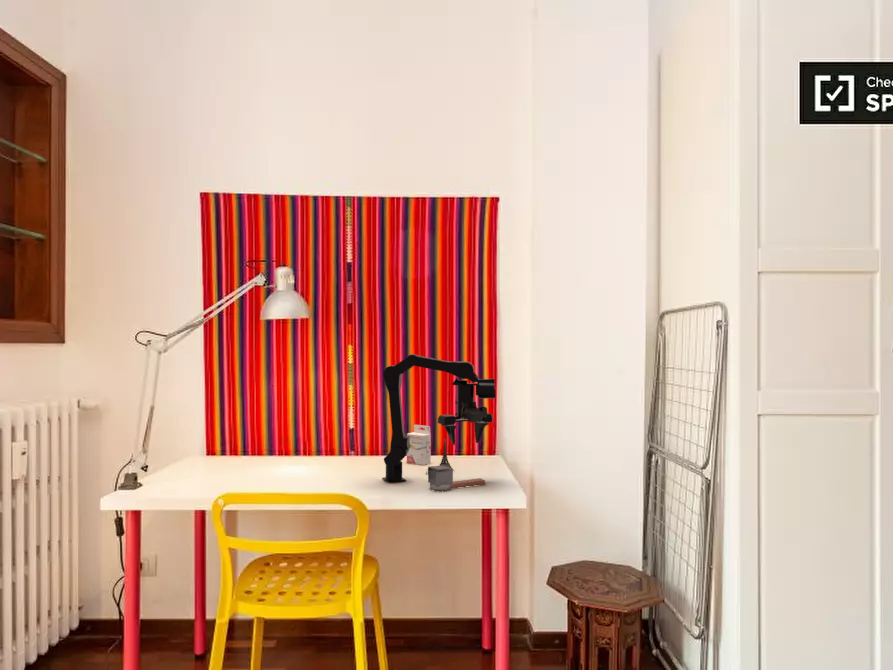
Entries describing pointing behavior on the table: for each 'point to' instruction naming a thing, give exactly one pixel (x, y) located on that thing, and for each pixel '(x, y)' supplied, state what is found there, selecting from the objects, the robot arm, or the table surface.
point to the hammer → (457, 484)
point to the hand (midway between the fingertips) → (465, 443)
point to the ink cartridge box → (420, 445)
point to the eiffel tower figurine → (445, 457)
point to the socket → (440, 475)
